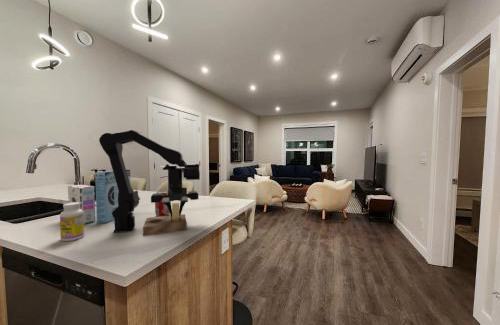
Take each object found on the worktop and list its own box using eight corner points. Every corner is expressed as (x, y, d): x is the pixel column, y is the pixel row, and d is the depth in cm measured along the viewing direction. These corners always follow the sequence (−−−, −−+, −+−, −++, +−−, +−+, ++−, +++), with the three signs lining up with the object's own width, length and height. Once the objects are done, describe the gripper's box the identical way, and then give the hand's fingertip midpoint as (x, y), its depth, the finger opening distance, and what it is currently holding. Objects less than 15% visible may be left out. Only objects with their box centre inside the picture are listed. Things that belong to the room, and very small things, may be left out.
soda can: (172, 213, 111) (172, 190, 111) (166, 217, 104) (165, 193, 104) (159, 213, 112) (159, 190, 111) (152, 217, 105) (151, 193, 104)
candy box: (96, 221, 99) (95, 186, 98) (80, 225, 94) (79, 187, 93) (83, 217, 106) (82, 183, 106) (68, 220, 101) (67, 185, 101)
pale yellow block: (172, 224, 89) (172, 205, 89) (172, 221, 94) (172, 203, 94) (179, 223, 90) (179, 205, 90) (179, 220, 95) (178, 202, 94)
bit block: (143, 235, 82) (142, 227, 82) (146, 224, 94) (146, 217, 94) (186, 229, 87) (186, 222, 87) (185, 220, 100) (184, 214, 99)
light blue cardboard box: (106, 223, 96) (105, 172, 96) (95, 223, 97) (94, 172, 96) (132, 211, 116) (131, 169, 115) (122, 211, 116) (121, 169, 115)
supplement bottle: (55, 241, 77) (54, 205, 76) (74, 234, 83) (73, 201, 83) (70, 242, 75) (69, 206, 75) (88, 235, 82) (87, 202, 81)
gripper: (149, 183, 81) (149, 224, 81) (199, 181, 87) (200, 219, 87) (151, 180, 91) (152, 216, 92) (196, 178, 97) (197, 212, 98)
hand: (175, 216), depth 92 cm, fingers closed on pale yellow block, 3 cm apart
